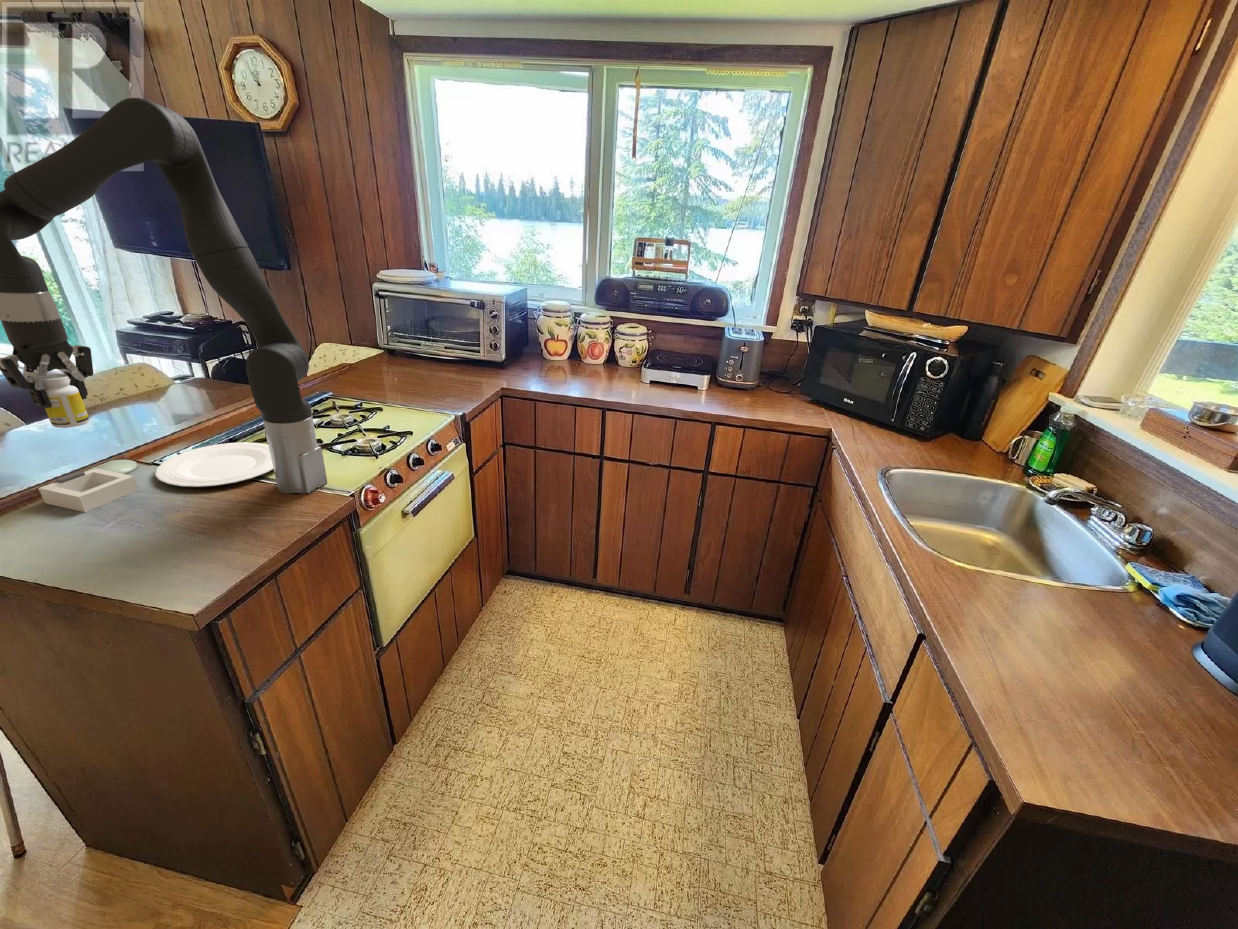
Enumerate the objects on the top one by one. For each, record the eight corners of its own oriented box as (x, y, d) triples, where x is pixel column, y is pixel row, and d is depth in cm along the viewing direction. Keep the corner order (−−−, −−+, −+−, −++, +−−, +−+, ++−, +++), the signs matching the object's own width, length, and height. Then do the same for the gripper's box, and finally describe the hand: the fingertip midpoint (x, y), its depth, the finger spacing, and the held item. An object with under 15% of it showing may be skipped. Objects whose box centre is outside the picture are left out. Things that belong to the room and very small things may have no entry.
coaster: (147, 465, 118) (147, 463, 118) (105, 481, 110) (104, 479, 110) (116, 459, 119) (115, 457, 119) (72, 474, 111) (71, 472, 111)
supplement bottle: (87, 417, 104) (70, 371, 100) (93, 424, 101) (75, 378, 97) (49, 422, 100) (30, 375, 96) (54, 430, 98) (35, 382, 93)
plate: (254, 440, 136) (252, 434, 136) (306, 467, 126) (305, 460, 125) (137, 470, 116) (134, 463, 116) (187, 505, 106) (185, 497, 105)
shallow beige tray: (138, 490, 108) (132, 473, 107) (85, 512, 99) (78, 494, 98) (100, 482, 110) (94, 465, 108) (45, 503, 101) (37, 485, 99)
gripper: (-4, 324, 85) (35, 416, 92) (91, 314, 98) (118, 396, 105) (-40, 318, 86) (1, 410, 93) (59, 309, 99) (88, 390, 106)
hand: (63, 402), depth 99 cm, fingers closed on supplement bottle, 5 cm apart
